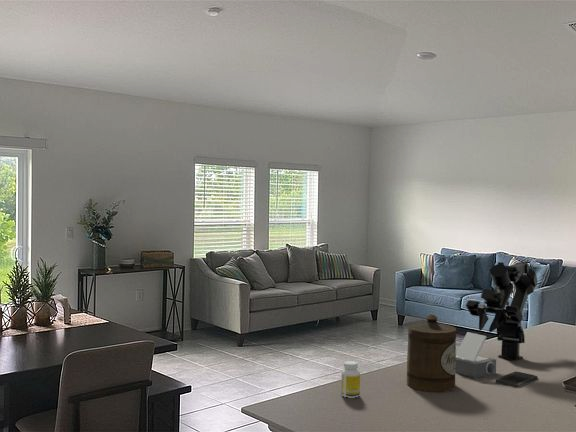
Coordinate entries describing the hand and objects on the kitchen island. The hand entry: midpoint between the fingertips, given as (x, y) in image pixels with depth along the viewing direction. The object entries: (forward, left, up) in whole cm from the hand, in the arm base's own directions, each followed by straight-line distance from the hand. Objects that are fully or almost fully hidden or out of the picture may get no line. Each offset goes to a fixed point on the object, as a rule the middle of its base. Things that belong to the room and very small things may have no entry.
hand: (484, 330), depth 210 cm
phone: (+1, +13, -14) cm, 19 cm away
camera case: (+5, 0, -14) cm, 14 cm away
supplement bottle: (+56, -5, -14) cm, 58 cm away
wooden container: (+28, +1, -14) cm, 31 cm away
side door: (+7, 0, -5) cm, 9 cm away
